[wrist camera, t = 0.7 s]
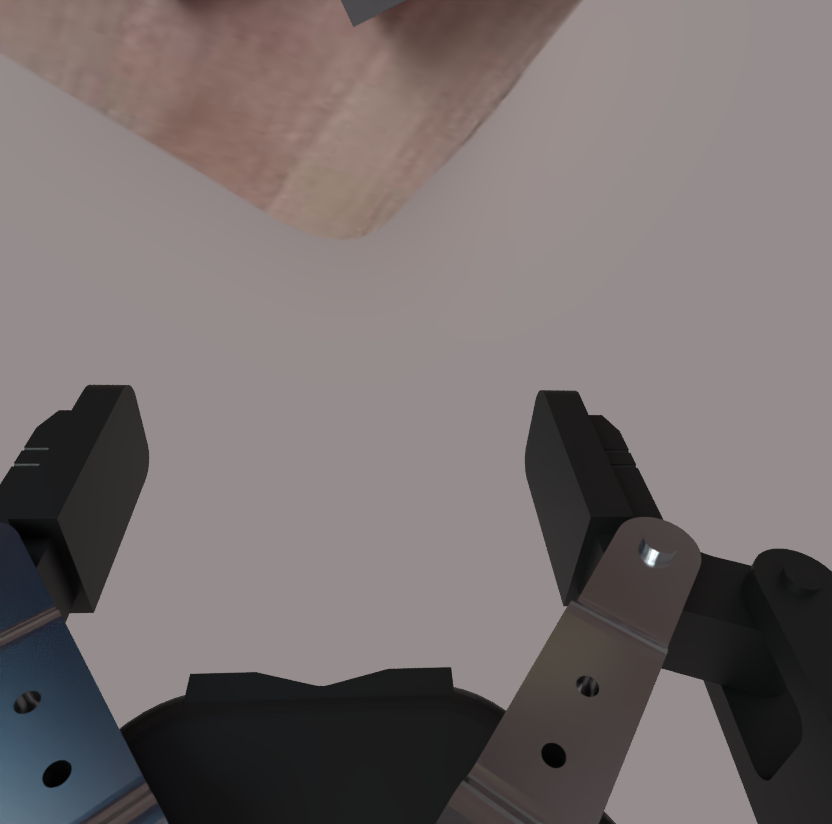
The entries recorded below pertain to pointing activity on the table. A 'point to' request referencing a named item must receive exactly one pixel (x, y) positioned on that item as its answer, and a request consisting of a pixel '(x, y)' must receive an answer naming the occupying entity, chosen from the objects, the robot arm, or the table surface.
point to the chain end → (366, 8)
